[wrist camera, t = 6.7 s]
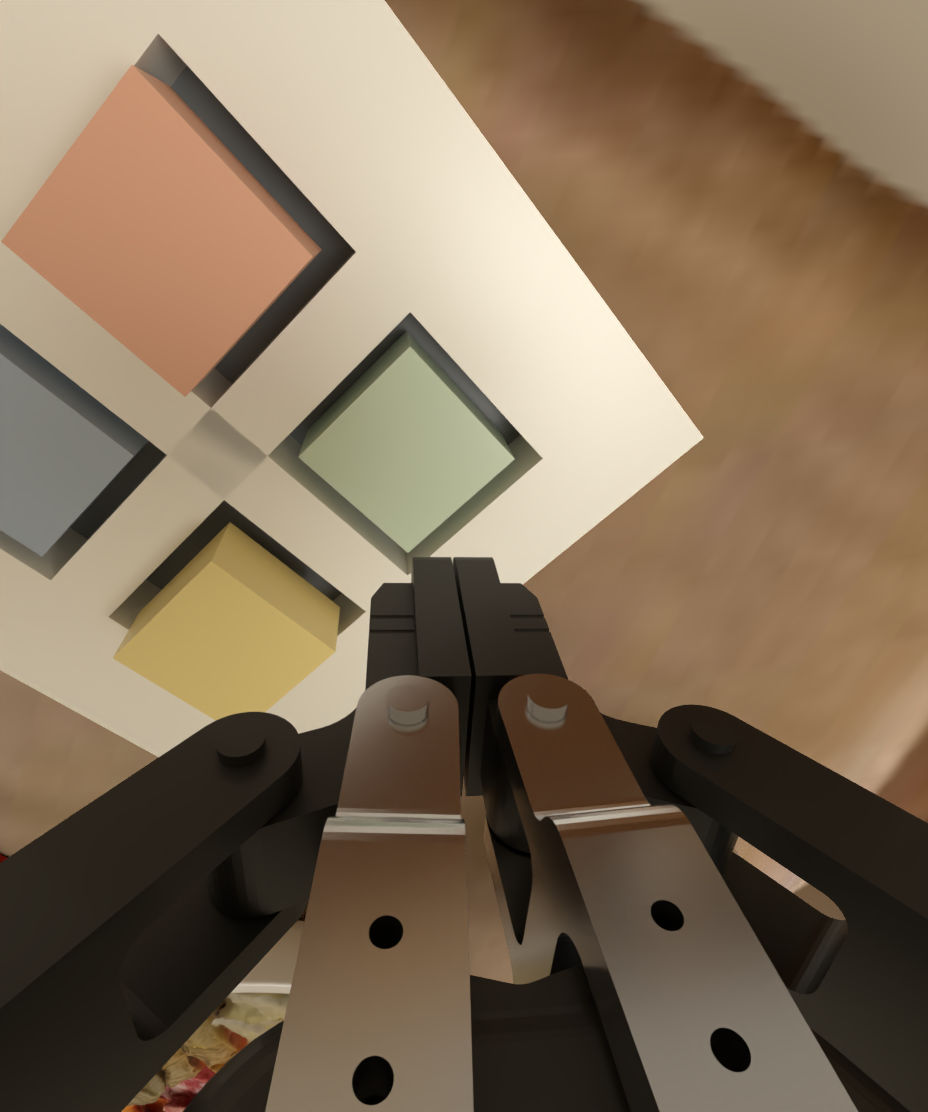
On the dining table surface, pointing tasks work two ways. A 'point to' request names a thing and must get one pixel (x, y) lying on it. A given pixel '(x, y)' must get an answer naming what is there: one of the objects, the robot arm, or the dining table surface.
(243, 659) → the key mustard
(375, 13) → the keypad board
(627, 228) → the dining table surface
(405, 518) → the key sage
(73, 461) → the key slate
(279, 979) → the bowl
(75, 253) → the key terracotta
